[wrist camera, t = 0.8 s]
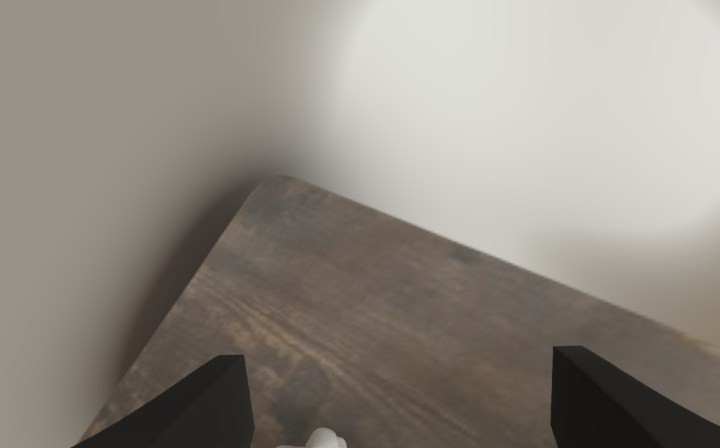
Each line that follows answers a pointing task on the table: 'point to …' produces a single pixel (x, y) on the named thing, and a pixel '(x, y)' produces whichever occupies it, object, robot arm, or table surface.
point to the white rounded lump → (321, 440)
